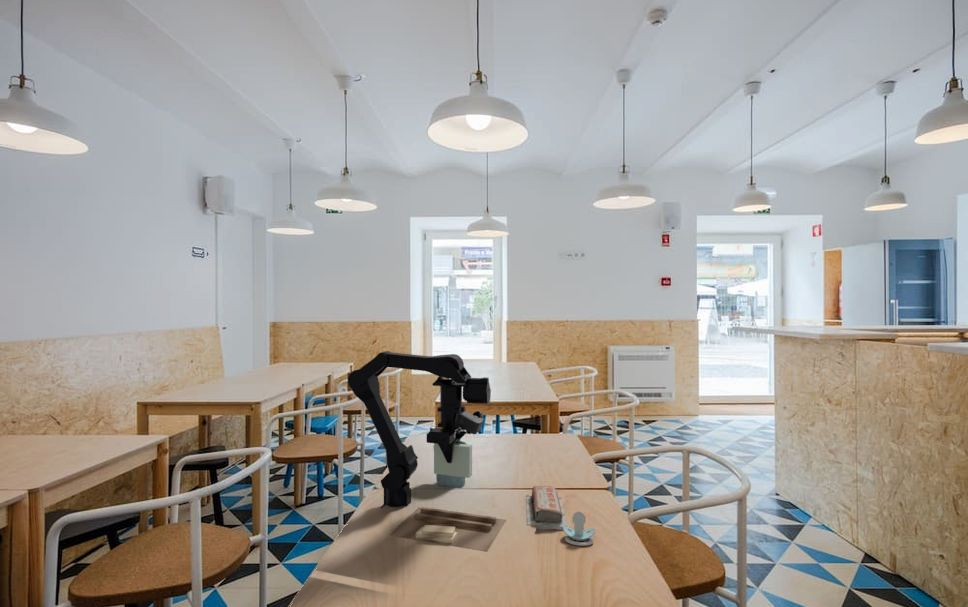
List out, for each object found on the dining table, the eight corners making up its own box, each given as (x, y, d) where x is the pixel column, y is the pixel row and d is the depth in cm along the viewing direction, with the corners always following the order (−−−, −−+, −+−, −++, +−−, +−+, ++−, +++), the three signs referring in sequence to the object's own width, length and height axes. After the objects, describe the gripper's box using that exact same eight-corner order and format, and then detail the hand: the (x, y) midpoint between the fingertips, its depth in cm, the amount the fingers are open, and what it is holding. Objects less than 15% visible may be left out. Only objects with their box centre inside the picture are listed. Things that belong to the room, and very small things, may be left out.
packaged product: (525, 483, 137) (561, 484, 136) (525, 500, 137) (561, 501, 136) (527, 511, 119) (568, 512, 118) (527, 531, 119) (568, 532, 118)
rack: (388, 539, 113) (388, 529, 113) (418, 511, 129) (418, 502, 129) (487, 555, 106) (487, 545, 106) (506, 523, 121) (506, 515, 121)
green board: (433, 473, 129) (434, 443, 129) (436, 471, 131) (437, 441, 131) (469, 477, 126) (469, 447, 126) (471, 475, 128) (472, 444, 128)
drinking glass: (473, 482, 149) (473, 443, 149) (454, 493, 140) (454, 452, 140) (446, 475, 154) (446, 438, 154) (426, 486, 146) (426, 446, 146)
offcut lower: (415, 537, 112) (415, 533, 112) (422, 530, 116) (422, 526, 116) (452, 543, 109) (452, 539, 109) (457, 536, 113) (457, 532, 113)
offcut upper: (421, 535, 111) (421, 530, 111) (425, 529, 114) (425, 524, 114) (452, 537, 110) (452, 532, 110) (455, 531, 113) (455, 526, 113)
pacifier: (595, 549, 109) (594, 536, 115) (595, 522, 109) (594, 510, 115) (562, 546, 111) (563, 533, 117) (562, 519, 111) (563, 507, 117)
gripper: (467, 412, 118) (467, 477, 118) (490, 397, 135) (490, 453, 135) (425, 409, 121) (425, 472, 121) (453, 395, 139) (453, 450, 139)
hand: (451, 461), depth 129 cm, fingers closed on green board, 2 cm apart
